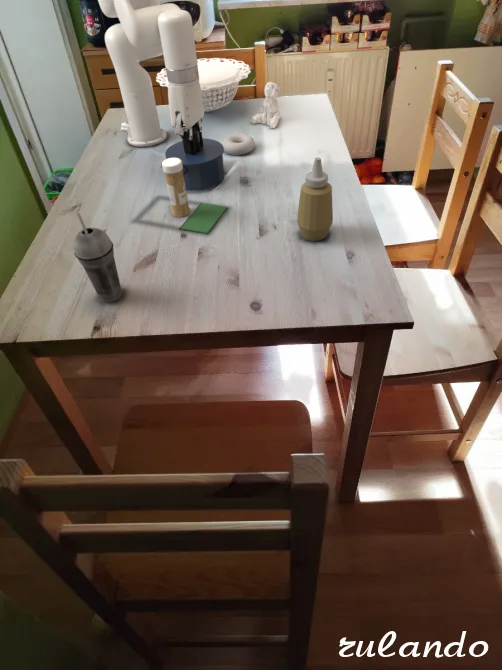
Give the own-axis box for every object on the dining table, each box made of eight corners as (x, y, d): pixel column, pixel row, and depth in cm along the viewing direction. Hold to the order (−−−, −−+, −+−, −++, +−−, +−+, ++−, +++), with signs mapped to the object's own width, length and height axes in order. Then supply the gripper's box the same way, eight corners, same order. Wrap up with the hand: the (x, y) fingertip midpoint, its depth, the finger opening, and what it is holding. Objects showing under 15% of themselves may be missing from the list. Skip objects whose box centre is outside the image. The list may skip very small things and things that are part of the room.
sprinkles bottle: (191, 216, 114) (182, 163, 104) (173, 219, 114) (162, 167, 104) (189, 206, 117) (180, 155, 108) (171, 210, 117) (160, 158, 107)
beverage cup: (130, 282, 98) (103, 197, 83) (125, 305, 93) (95, 218, 78) (96, 284, 98) (64, 199, 84) (89, 308, 93) (53, 221, 78)
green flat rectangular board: (134, 221, 115) (134, 219, 114) (158, 197, 122) (158, 196, 122) (207, 234, 109) (207, 232, 109) (227, 208, 116) (227, 206, 116)
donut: (221, 158, 137) (255, 156, 136) (220, 146, 134) (254, 144, 133) (223, 143, 143) (255, 141, 143) (222, 132, 141) (254, 130, 140)
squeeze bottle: (290, 229, 108) (291, 154, 95) (321, 221, 110) (326, 146, 97) (305, 248, 103) (308, 171, 90) (338, 238, 104) (345, 162, 92)
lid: (155, 164, 120) (150, 141, 116) (182, 140, 130) (178, 117, 126) (209, 171, 116) (206, 147, 111) (233, 145, 126) (231, 122, 121)
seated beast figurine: (250, 123, 153) (248, 84, 144) (265, 114, 157) (264, 75, 149) (273, 129, 149) (272, 89, 140) (288, 119, 153) (288, 80, 144)
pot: (157, 193, 124) (152, 166, 119) (190, 160, 137) (187, 134, 131) (206, 200, 120) (203, 173, 114) (236, 165, 132) (234, 140, 127)
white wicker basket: (263, 97, 169) (262, 58, 159) (238, 133, 148) (235, 90, 139) (182, 94, 176) (176, 56, 167) (147, 128, 155) (139, 87, 146)
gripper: (184, 62, 115) (195, 136, 129) (151, 85, 105) (166, 162, 118) (211, 64, 113) (219, 138, 126) (180, 87, 103) (193, 166, 116)
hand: (194, 149), depth 122 cm, fingers closed on lid, 3 cm apart
